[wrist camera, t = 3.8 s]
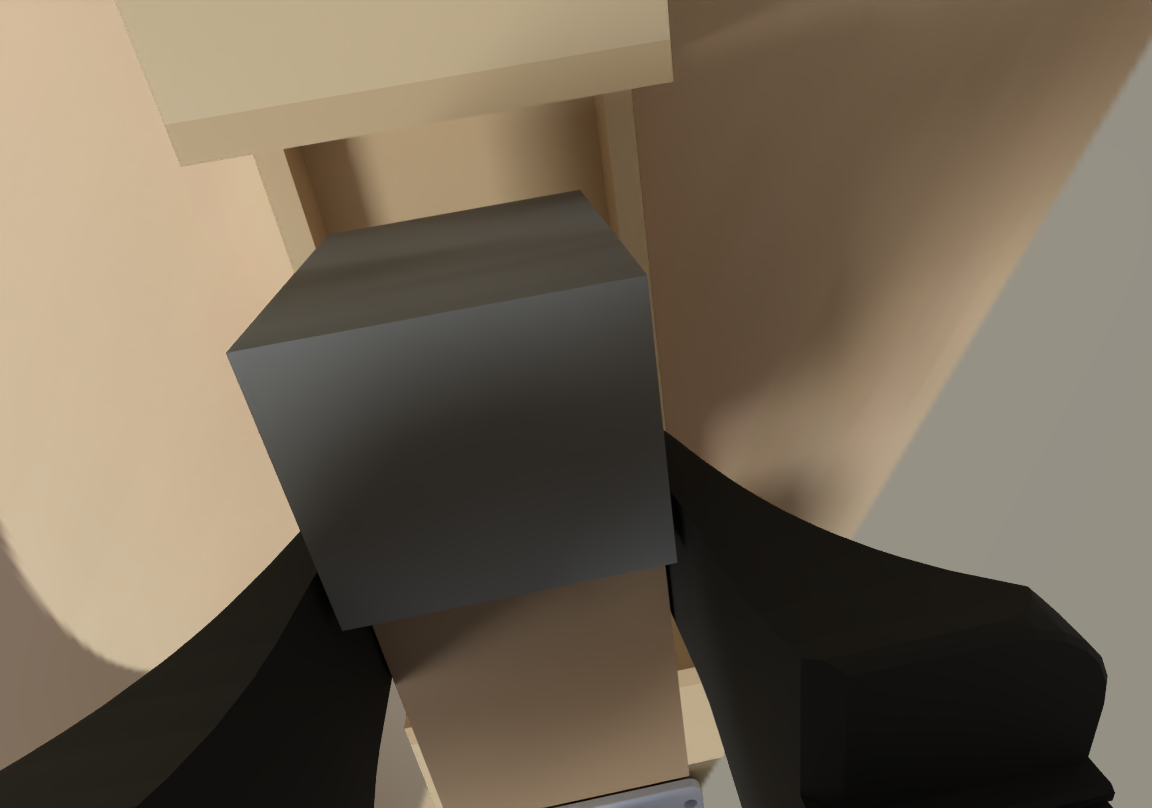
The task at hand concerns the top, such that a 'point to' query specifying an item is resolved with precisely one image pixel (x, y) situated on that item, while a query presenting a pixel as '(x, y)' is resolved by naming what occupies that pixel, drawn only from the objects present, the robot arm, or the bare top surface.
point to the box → (487, 488)
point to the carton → (418, 126)
